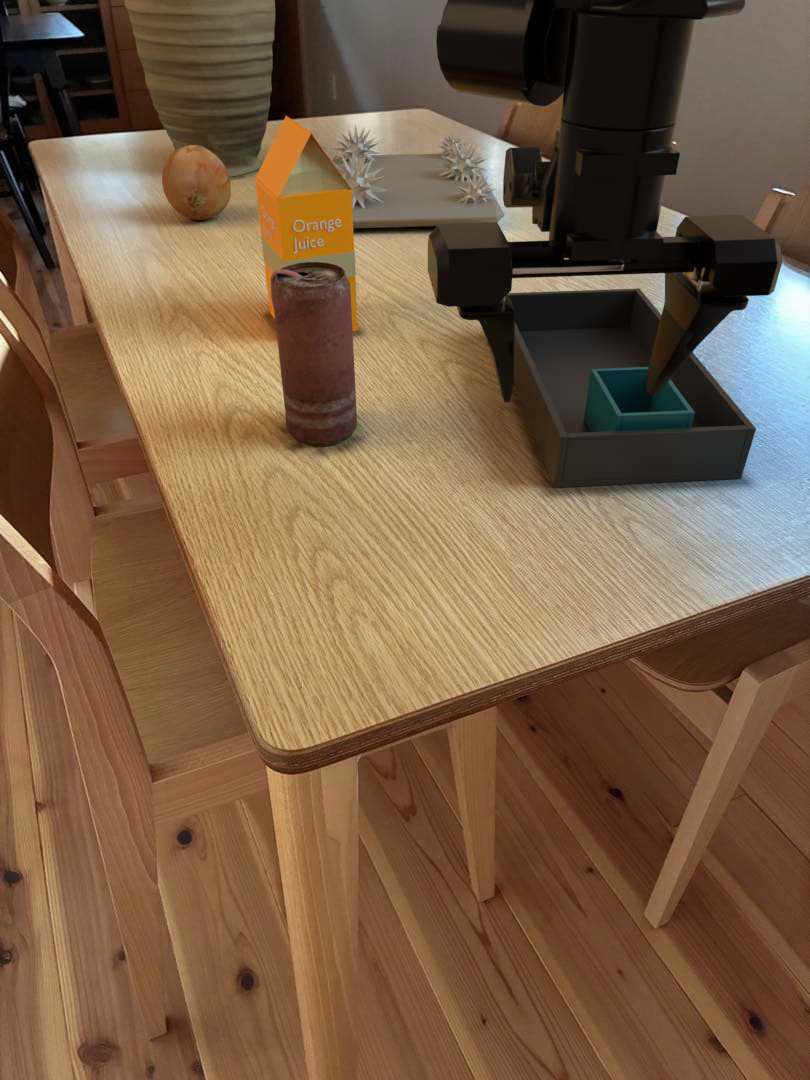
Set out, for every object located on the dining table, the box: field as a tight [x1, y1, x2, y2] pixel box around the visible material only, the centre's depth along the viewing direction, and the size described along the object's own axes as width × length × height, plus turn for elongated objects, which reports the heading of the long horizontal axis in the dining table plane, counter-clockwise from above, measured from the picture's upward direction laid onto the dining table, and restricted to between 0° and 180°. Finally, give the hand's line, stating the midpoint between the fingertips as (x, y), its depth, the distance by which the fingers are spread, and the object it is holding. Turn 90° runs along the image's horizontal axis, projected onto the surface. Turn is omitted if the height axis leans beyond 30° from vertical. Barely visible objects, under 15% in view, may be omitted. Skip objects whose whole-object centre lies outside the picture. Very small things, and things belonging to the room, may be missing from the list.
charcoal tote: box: [507, 288, 757, 488], centre depth 74 cm, size 15×29×5 cm, turn 4°
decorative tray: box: [330, 123, 505, 229], centre depth 124 cm, size 35×26×10 cm
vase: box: [123, 0, 276, 178], centre depth 134 cm, size 25×24×30 cm
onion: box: [161, 145, 232, 221], centre depth 117 cm, size 10×10×10 cm
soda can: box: [270, 262, 358, 447], centre depth 66 cm, size 6×6×14 cm
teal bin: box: [584, 367, 695, 432], centre depth 66 cm, size 6×8×5 cm
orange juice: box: [254, 114, 359, 333], centre depth 83 cm, size 8×9×20 cm
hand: (578, 396), depth 50 cm, fingers open, 9 cm apart
